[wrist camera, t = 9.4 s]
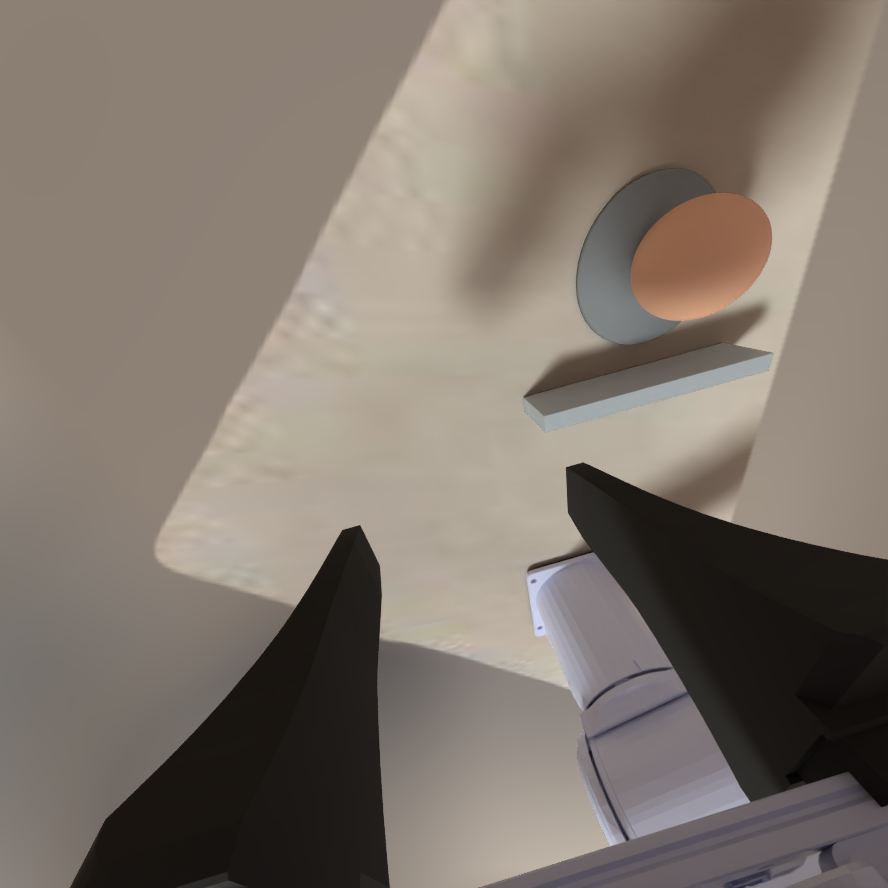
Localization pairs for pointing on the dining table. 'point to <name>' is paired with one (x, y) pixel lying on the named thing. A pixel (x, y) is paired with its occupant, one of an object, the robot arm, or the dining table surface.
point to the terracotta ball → (701, 256)
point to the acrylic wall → (644, 385)
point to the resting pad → (628, 254)
